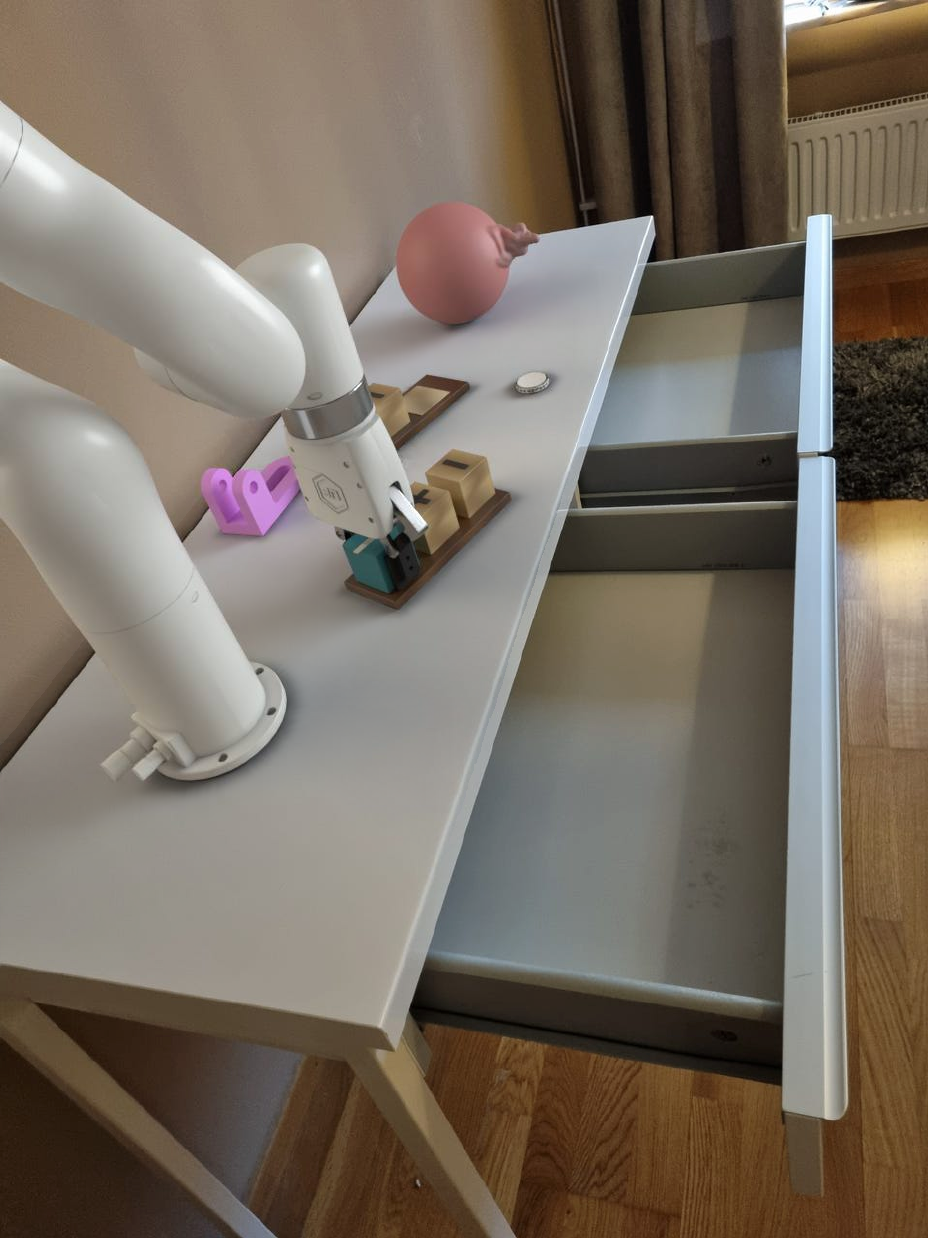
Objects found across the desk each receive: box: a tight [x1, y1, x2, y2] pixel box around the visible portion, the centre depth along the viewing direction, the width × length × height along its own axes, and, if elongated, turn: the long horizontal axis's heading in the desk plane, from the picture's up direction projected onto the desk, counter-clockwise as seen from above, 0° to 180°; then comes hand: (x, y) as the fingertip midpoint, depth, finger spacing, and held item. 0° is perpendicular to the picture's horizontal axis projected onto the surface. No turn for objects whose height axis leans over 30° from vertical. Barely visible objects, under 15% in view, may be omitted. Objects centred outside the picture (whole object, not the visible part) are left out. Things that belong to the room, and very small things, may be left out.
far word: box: [368, 374, 471, 451], centre depth 105 cm, size 22×7×6 cm, turn 141°
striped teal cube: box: [341, 526, 419, 594], centre depth 83 cm, size 5×4×5 cm
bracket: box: [200, 455, 301, 537], centre depth 99 cm, size 13×6×7 cm, turn 158°
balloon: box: [395, 201, 541, 325], centre depth 119 cm, size 15×20×15 cm
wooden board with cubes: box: [343, 448, 512, 611], centre depth 86 cm, size 18×7×6 cm, turn 141°
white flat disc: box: [514, 371, 550, 394], centre depth 107 cm, size 4×4×1 cm
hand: (387, 571), depth 84 cm, fingers closed on striped teal cube, 4 cm apart
